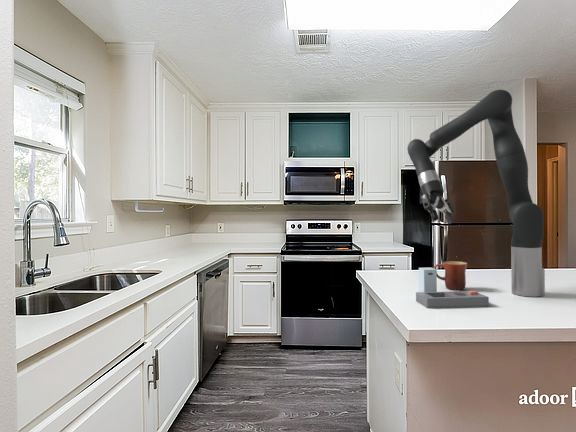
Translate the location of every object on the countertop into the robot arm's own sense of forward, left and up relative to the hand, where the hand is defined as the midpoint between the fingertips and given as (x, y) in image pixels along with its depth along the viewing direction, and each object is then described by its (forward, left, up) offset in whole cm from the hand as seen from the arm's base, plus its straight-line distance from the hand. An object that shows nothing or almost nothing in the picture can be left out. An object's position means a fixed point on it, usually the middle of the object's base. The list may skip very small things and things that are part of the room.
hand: (443, 221), depth 133 cm
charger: (+8, +3, -27) cm, 28 cm away
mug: (-6, -8, -27) cm, 29 cm away
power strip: (+5, +14, -27) cm, 30 cm away
